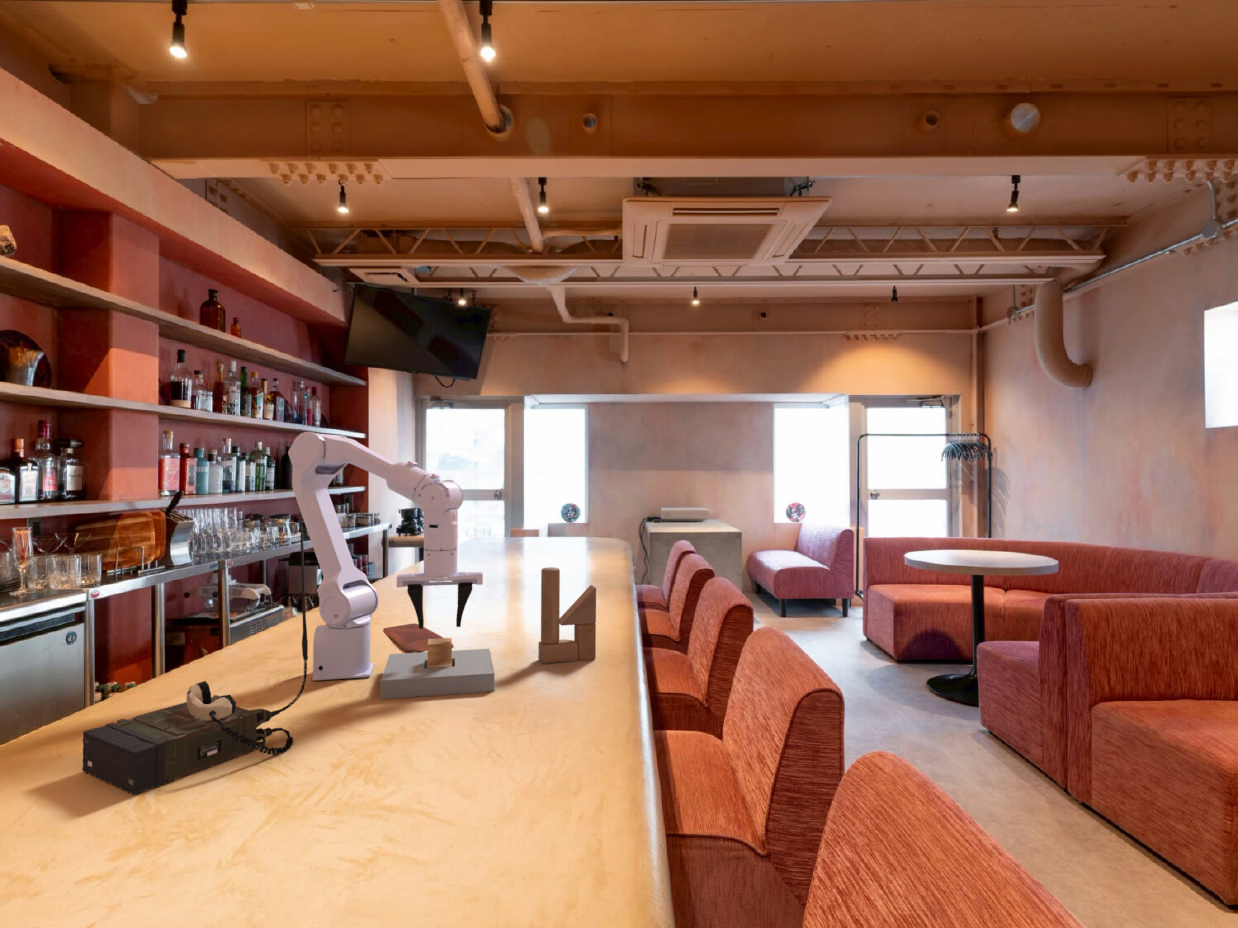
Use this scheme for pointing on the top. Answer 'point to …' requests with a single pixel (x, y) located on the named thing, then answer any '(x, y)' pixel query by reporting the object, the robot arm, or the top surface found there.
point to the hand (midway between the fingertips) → (439, 626)
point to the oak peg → (439, 653)
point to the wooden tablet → (411, 637)
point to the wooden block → (566, 622)
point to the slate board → (437, 675)
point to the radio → (182, 735)
